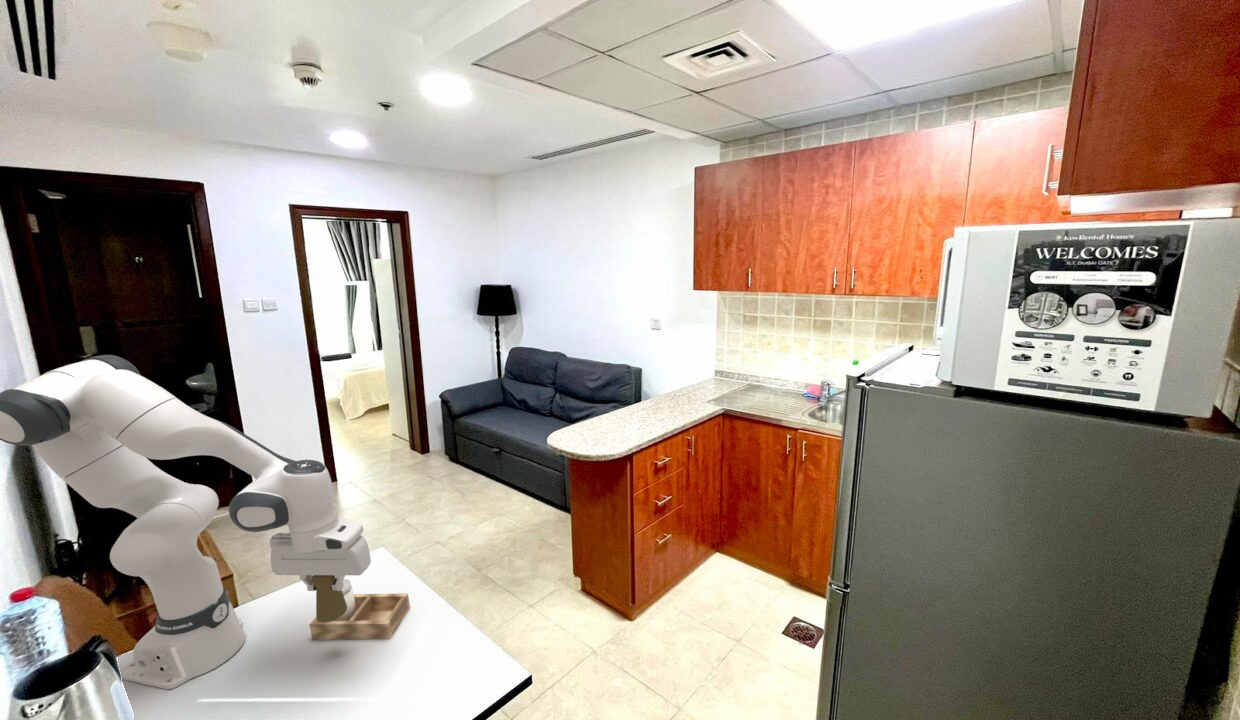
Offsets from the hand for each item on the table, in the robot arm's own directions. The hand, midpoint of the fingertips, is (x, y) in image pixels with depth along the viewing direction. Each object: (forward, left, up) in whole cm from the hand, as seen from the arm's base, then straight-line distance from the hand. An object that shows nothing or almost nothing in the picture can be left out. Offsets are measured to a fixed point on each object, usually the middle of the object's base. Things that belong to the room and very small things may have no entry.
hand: (326, 589), depth 104 cm
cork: (0, 0, -7) cm, 7 cm away
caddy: (0, +9, -18) cm, 20 cm away
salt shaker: (-4, +9, -17) cm, 20 cm away
